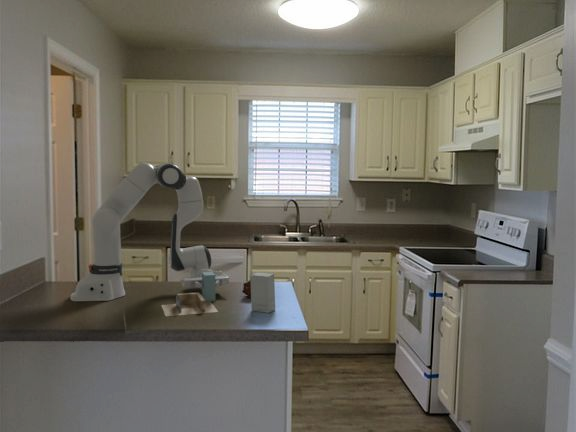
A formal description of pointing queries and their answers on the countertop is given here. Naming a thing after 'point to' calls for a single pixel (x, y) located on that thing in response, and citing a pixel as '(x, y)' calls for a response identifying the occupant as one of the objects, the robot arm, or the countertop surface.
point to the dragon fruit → (247, 288)
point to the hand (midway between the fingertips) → (208, 285)
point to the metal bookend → (178, 303)
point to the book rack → (189, 305)
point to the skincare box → (262, 292)
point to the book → (208, 286)
